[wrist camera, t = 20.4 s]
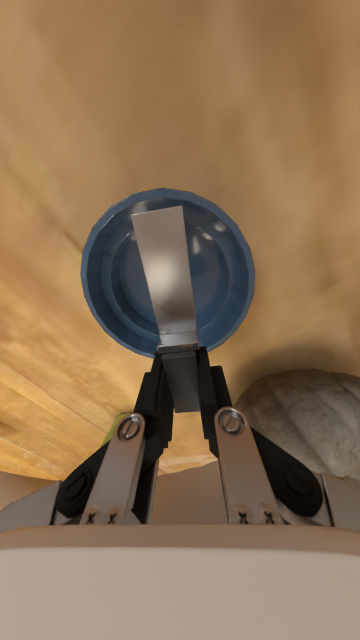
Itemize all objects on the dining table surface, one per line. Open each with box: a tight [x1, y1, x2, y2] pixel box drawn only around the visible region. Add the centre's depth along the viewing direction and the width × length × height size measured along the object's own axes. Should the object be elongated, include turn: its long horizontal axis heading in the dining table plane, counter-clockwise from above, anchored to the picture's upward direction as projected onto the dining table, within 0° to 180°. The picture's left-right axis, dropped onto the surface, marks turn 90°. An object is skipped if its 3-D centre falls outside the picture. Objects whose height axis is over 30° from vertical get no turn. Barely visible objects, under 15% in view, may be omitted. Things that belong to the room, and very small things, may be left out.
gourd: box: [234, 369, 360, 486], centre depth 25 cm, size 25×25×17 cm
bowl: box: [80, 188, 255, 359], centre depth 19 cm, size 17×17×6 cm
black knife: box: [131, 205, 200, 413], centre depth 9 cm, size 11×2×2 cm, turn 8°
